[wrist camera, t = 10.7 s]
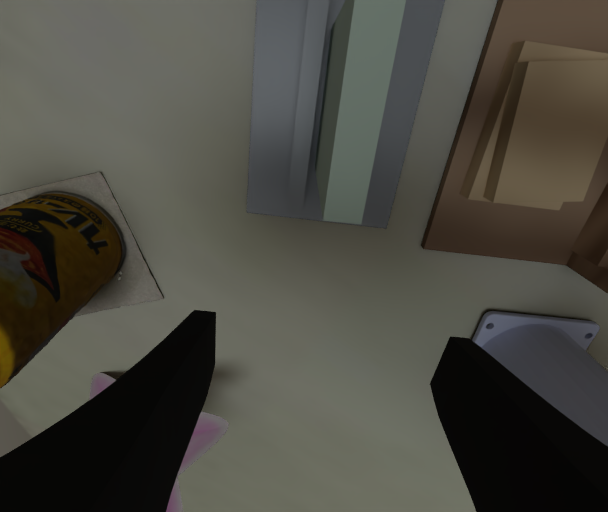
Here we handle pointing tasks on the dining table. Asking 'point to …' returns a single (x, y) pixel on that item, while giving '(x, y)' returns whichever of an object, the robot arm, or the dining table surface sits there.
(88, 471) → the robot arm
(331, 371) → the dining table surface
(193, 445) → the lily
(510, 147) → the offcut upper
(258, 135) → the stand
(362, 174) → the sheet
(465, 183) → the offcut lower
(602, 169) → the rack
